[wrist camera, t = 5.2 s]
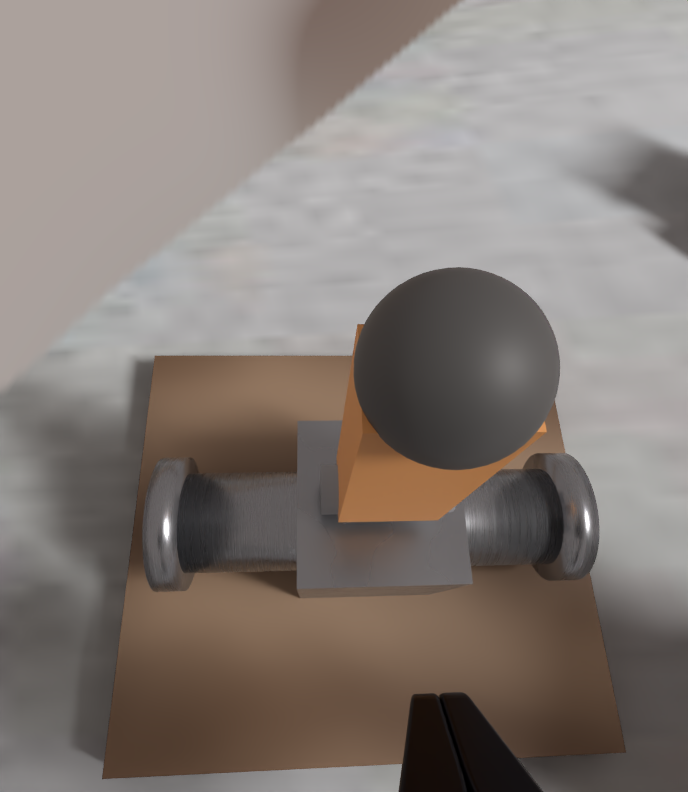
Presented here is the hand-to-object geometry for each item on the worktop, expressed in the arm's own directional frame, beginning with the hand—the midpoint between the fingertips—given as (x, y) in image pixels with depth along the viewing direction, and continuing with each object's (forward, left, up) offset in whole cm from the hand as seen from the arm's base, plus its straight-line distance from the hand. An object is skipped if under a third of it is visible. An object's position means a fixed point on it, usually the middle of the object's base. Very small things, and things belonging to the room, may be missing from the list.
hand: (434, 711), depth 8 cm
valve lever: (+4, +2, -4) cm, 6 cm away
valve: (+4, +2, -10) cm, 11 cm away
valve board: (+4, +2, -11) cm, 12 cm away
